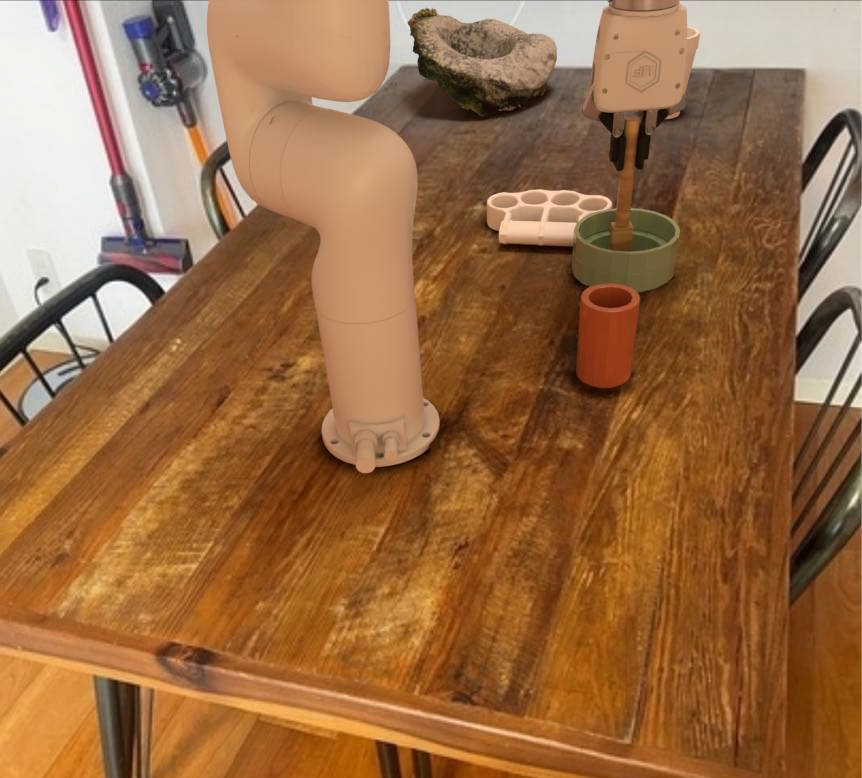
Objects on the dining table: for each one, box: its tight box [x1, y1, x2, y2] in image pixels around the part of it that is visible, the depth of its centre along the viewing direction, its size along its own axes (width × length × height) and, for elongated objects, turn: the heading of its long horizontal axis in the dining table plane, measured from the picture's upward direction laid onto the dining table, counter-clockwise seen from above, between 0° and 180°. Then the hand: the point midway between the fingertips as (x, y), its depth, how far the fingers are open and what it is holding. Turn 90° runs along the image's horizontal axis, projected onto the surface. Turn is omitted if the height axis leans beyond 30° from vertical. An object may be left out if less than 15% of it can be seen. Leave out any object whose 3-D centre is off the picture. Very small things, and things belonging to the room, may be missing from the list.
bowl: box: [571, 207, 681, 293], centre depth 111 cm, size 13×13×6 cm
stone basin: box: [407, 6, 558, 117], centre depth 164 cm, size 29×30×15 cm
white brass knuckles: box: [486, 188, 613, 248], centre depth 123 cm, size 3×18×15 cm
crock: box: [575, 283, 641, 389], centre depth 93 cm, size 6×6×10 cm
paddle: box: [608, 115, 641, 252], centre depth 107 cm, size 2×3×17 cm
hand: (627, 165), depth 105 cm, fingers closed on paddle, 1 cm apart
